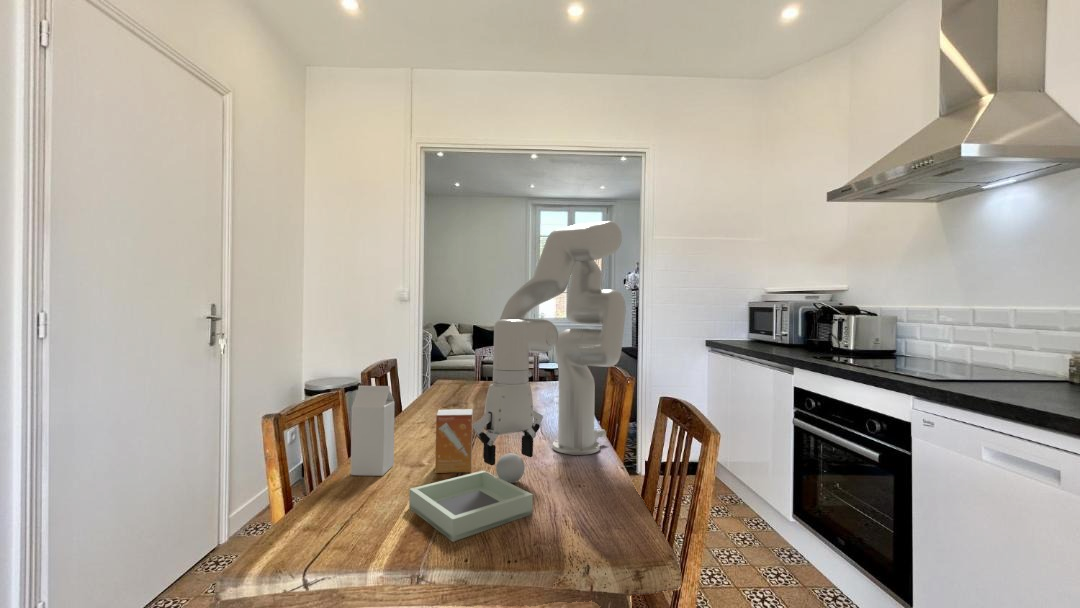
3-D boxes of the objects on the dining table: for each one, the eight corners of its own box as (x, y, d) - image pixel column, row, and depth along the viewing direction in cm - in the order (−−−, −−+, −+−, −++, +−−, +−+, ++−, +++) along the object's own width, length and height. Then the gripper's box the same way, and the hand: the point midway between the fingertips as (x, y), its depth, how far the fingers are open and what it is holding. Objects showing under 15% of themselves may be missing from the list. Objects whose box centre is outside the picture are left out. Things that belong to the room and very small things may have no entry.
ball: (513, 475, 102) (513, 447, 103) (530, 483, 98) (530, 454, 98) (490, 481, 99) (490, 453, 99) (506, 490, 94) (507, 460, 94)
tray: (483, 487, 95) (483, 470, 95) (532, 514, 83) (532, 494, 83) (409, 508, 85) (409, 488, 85) (452, 541, 73) (452, 519, 73)
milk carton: (382, 476, 101) (384, 388, 101) (350, 476, 101) (351, 388, 102) (393, 465, 108) (394, 383, 109) (363, 465, 108) (364, 383, 109)
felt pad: (479, 491, 91) (479, 490, 91) (508, 508, 83) (509, 506, 83) (432, 504, 85) (432, 503, 85) (459, 524, 77) (459, 522, 77)
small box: (434, 474, 103) (435, 414, 103) (437, 464, 109) (437, 409, 109) (471, 472, 104) (472, 414, 104) (472, 463, 110) (472, 408, 110)
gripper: (531, 373, 107) (529, 449, 106) (465, 378, 96) (463, 462, 95) (553, 377, 101) (551, 456, 100) (485, 382, 90) (483, 472, 89)
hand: (508, 459), depth 98 cm, fingers open, 9 cm apart
